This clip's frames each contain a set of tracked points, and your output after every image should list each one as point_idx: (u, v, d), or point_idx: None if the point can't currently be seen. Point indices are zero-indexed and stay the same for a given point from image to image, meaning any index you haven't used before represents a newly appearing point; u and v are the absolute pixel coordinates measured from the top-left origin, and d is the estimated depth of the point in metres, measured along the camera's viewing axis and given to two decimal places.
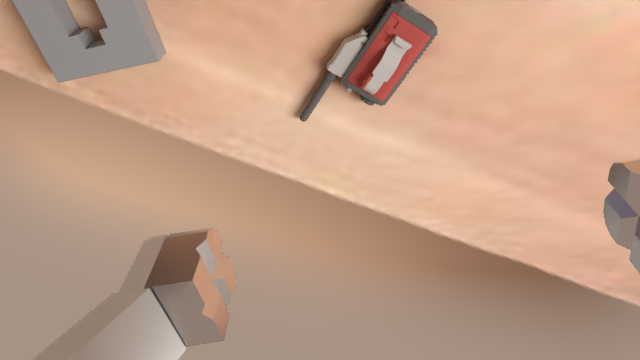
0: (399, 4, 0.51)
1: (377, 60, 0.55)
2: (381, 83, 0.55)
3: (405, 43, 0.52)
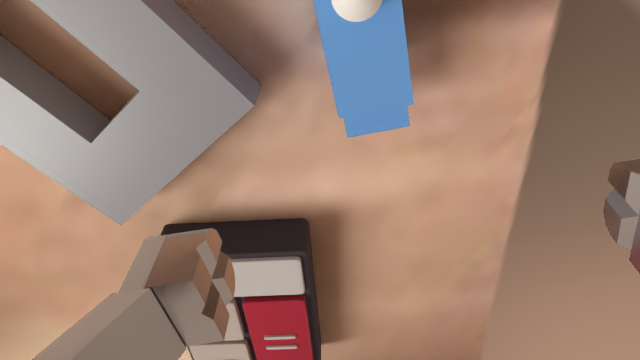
0: None
1: None
2: None
3: None
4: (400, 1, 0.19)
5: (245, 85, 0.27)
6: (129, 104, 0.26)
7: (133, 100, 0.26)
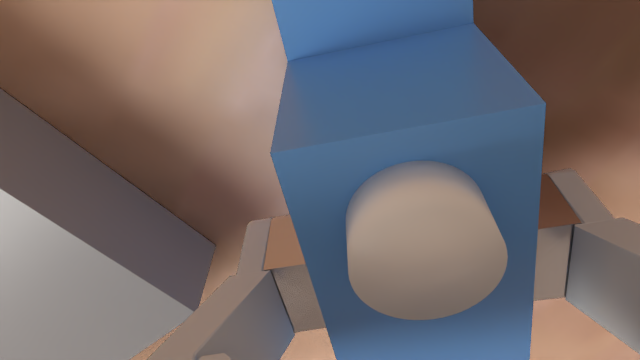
0: None
1: None
2: None
3: None
4: (533, 243, 0.07)
5: (182, 267, 0.15)
6: None
7: None
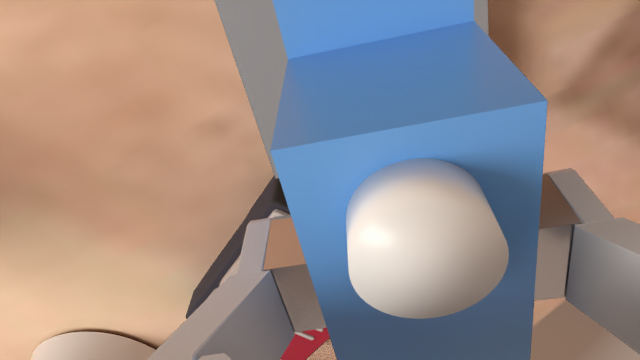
0: None
1: None
2: None
3: None
4: (534, 242, 0.07)
5: None
6: None
7: None
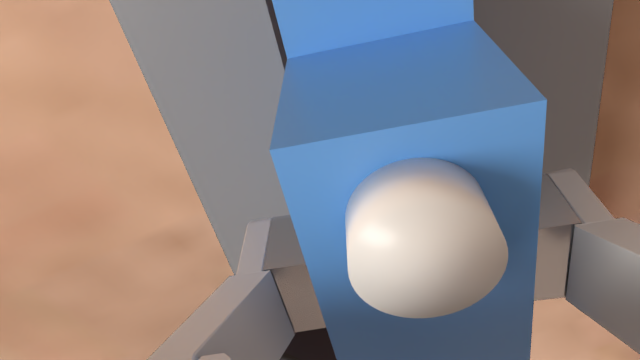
0: None
1: None
2: None
3: None
4: (533, 241, 0.07)
5: None
6: None
7: None
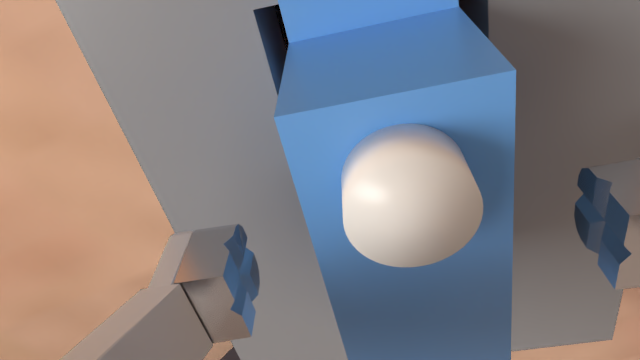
0: None
1: None
2: None
3: None
4: (510, 201, 0.08)
5: None
6: None
7: None
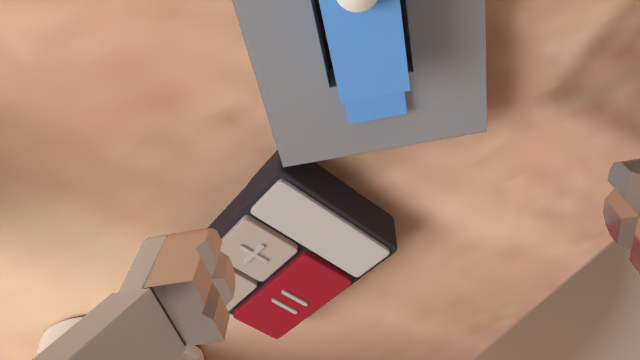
0: None
1: None
2: None
3: None
4: None
5: None
6: None
7: None
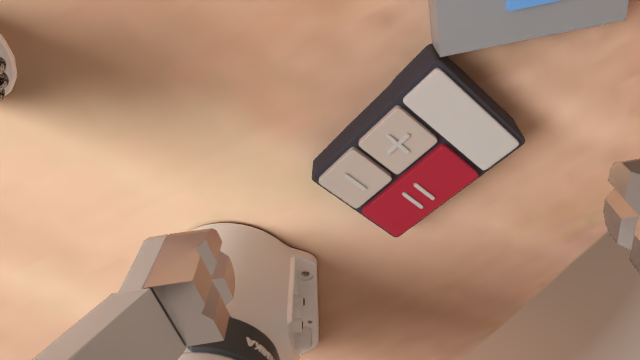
0: None
1: None
2: None
3: None
4: None
5: None
6: None
7: None
